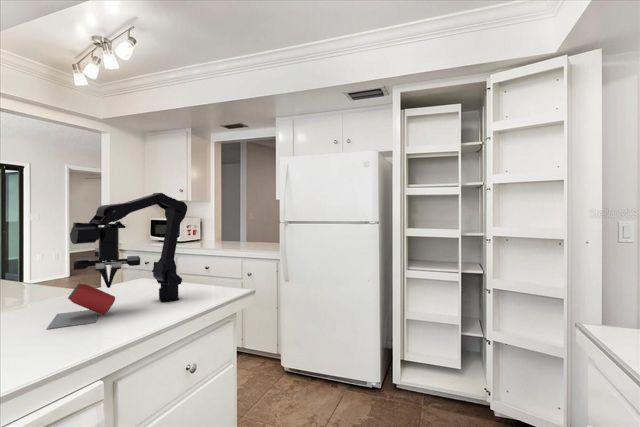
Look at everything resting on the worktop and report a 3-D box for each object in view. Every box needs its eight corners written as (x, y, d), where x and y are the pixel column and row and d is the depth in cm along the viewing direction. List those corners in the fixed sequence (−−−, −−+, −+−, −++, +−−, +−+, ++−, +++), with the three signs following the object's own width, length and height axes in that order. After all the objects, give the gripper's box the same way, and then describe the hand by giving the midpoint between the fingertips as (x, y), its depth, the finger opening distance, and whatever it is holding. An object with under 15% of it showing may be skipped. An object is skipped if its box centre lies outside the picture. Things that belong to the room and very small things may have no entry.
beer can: (110, 309, 108) (72, 293, 102) (101, 318, 110) (63, 303, 105) (119, 293, 113) (83, 277, 107) (110, 302, 115) (74, 287, 110)
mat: (99, 309, 117) (99, 308, 117) (95, 322, 103) (95, 321, 103) (57, 314, 111) (57, 313, 111) (46, 329, 97) (46, 328, 97)
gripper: (139, 239, 123) (139, 280, 123) (78, 241, 113) (78, 285, 114) (140, 241, 113) (140, 286, 113) (73, 243, 104) (73, 292, 104)
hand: (108, 287), depth 111 cm, fingers closed
